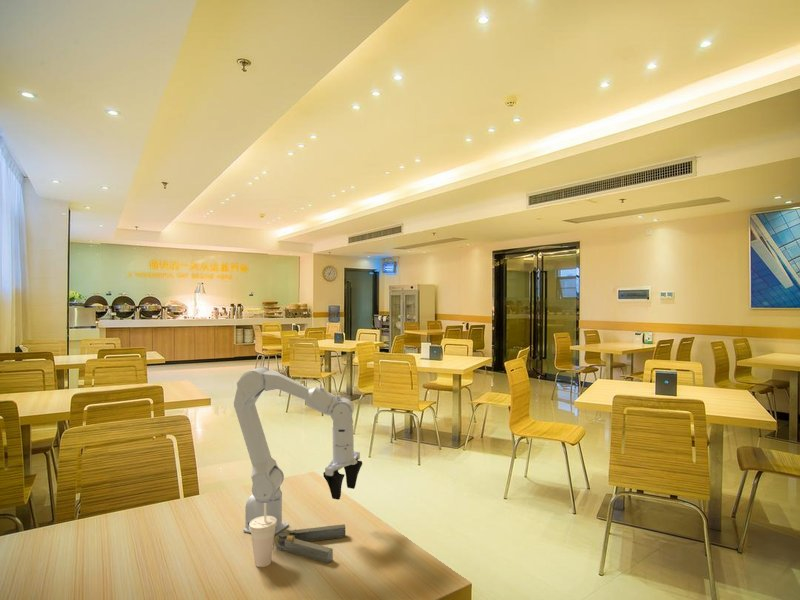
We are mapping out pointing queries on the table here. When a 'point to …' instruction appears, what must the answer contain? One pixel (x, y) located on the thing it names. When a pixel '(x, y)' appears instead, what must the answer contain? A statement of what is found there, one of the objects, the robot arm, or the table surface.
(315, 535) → the bar
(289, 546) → the tongs base
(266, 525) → the smoothie
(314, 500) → the table surface
